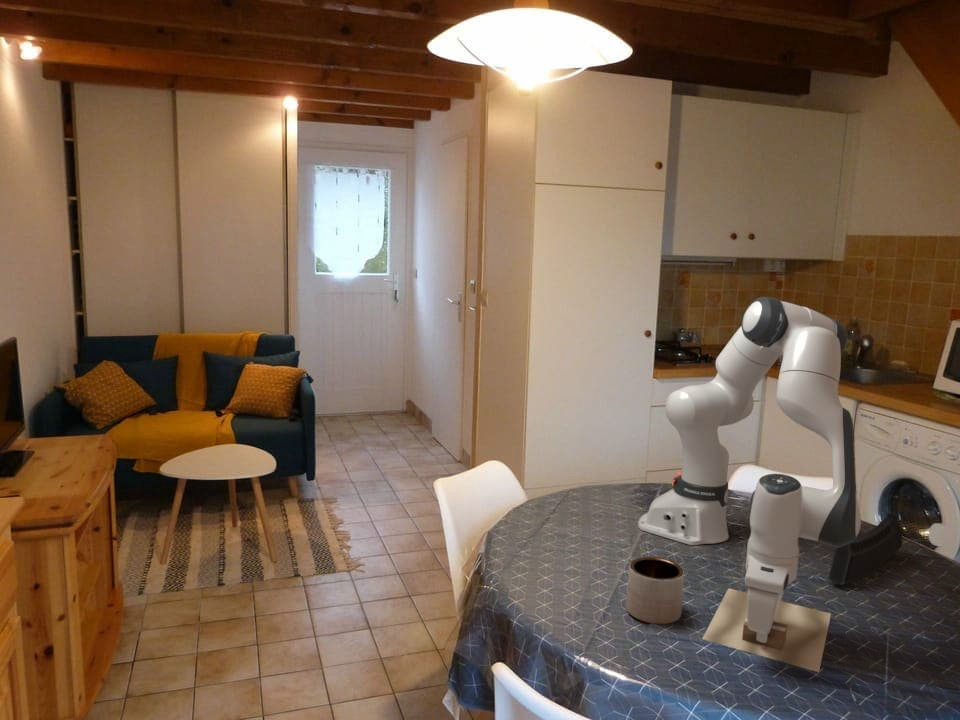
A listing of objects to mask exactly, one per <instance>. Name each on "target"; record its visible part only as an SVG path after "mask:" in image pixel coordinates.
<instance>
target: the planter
mask: <svg viewBox="0 0 960 720" xmlns="http://www.w3.org/2000/svg"><path fill="white" fill-rule="evenodd" d="M628 567H629V568H628V575H627V578H628V579H627V589H626V590H627V591H626V600H625V601H626V602H625V607H626V610H627V612H628V613H629V614H630V615H631V616H632V617H633V618H635V619H636V620H638V621H640V622H642V621H643V622H642V623H645V624H659V625H660V624H664V625H665V624H670V623H674V622H676V621H678V620H680V618H681V616H682V613H683V600H684V597H683V596H684V595H683V594H684V583H685V581H684V580H685V570H684V568H683V567H682V566H681V565H680V564H678V563H677V562H675V561H672V560H670V559H666V558H664V557H658V556H642V557H637V558H634V559H633V560H631V561H630V562H629V565H628Z"/></svg>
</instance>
